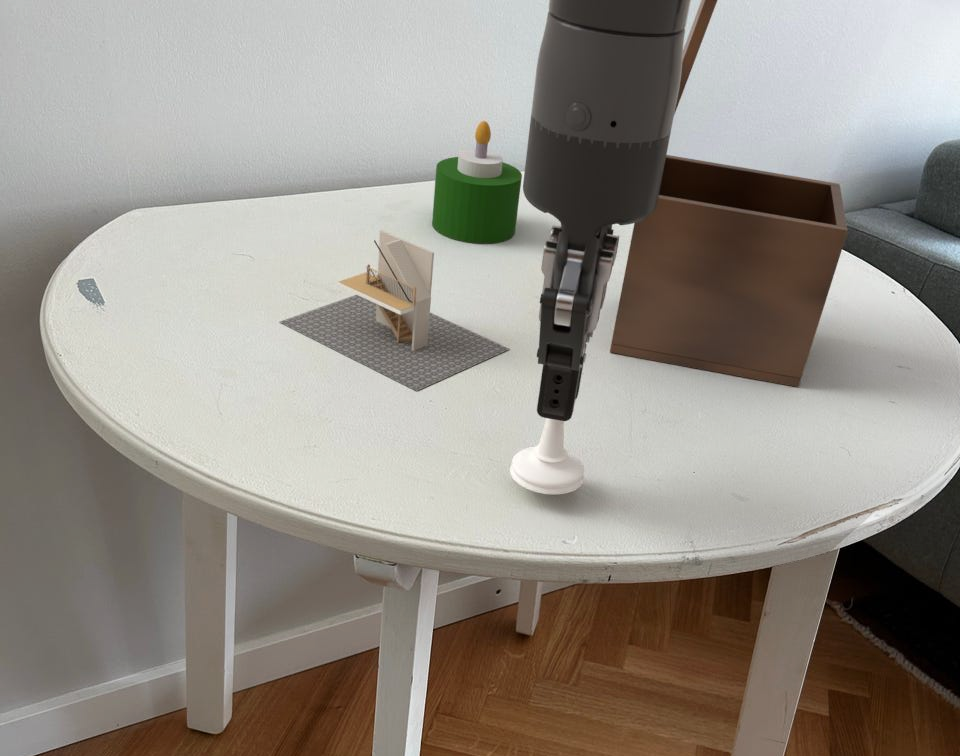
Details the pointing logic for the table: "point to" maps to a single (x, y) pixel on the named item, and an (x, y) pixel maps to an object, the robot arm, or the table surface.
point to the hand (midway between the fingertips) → (557, 405)
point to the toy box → (731, 271)
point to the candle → (476, 194)
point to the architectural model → (396, 321)
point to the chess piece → (548, 464)
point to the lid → (695, 41)
